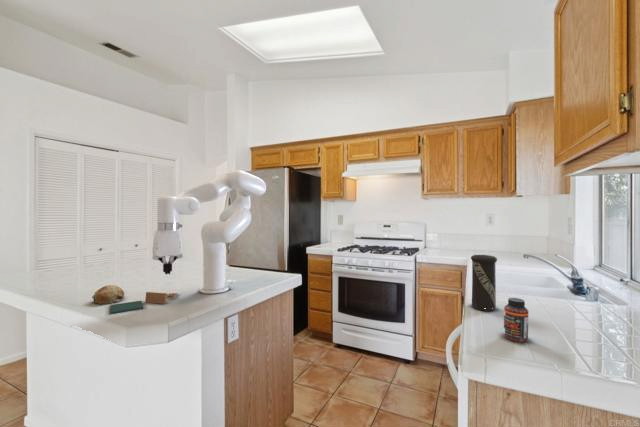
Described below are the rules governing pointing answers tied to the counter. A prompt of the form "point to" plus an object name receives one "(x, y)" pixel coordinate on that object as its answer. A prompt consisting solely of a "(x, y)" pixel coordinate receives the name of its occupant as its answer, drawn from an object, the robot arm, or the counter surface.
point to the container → (483, 282)
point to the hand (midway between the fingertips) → (167, 273)
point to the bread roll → (108, 294)
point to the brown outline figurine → (158, 297)
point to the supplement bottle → (516, 320)
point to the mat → (126, 307)
